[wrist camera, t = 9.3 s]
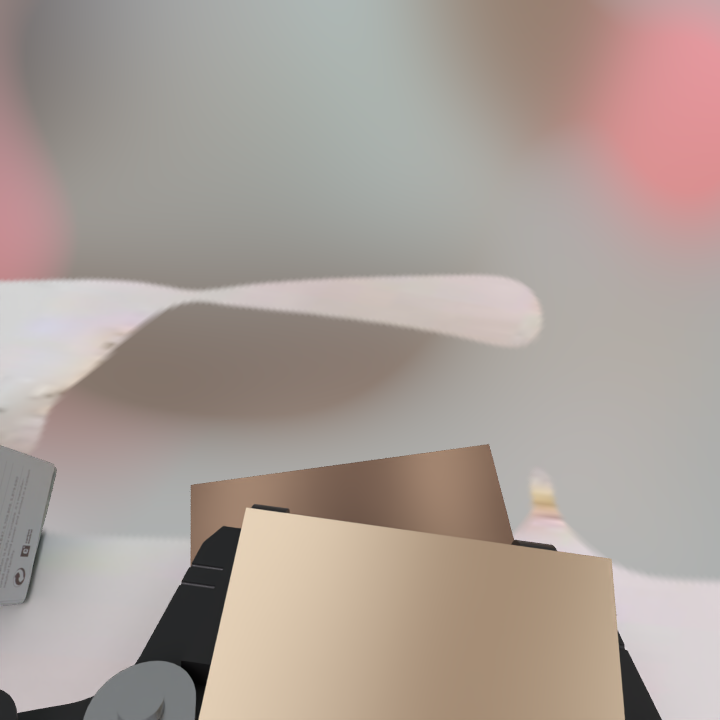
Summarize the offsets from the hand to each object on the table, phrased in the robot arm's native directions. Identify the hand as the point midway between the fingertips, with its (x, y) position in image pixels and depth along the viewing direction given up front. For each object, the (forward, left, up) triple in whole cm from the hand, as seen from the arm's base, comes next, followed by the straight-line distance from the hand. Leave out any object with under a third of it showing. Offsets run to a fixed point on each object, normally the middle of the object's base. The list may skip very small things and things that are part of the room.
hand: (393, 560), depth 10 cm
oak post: (0, -2, -5) cm, 5 cm away
